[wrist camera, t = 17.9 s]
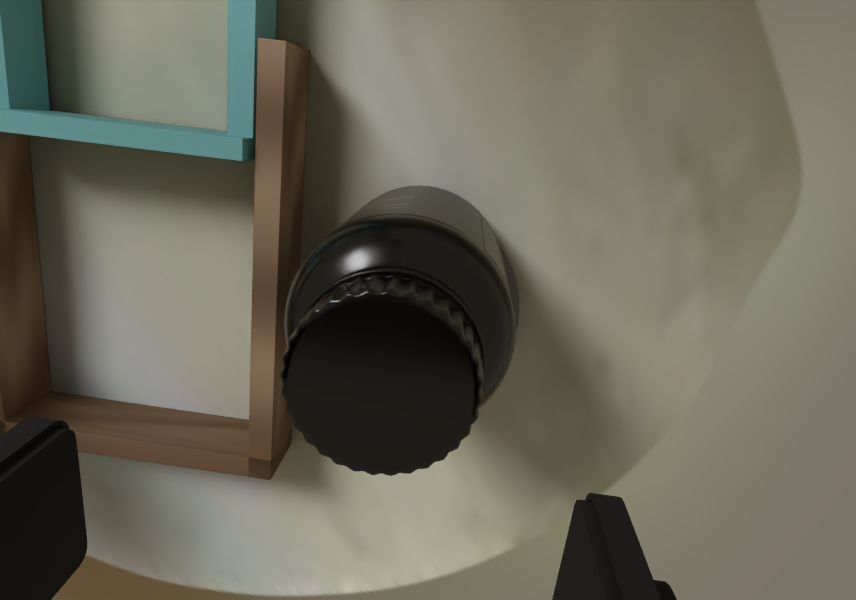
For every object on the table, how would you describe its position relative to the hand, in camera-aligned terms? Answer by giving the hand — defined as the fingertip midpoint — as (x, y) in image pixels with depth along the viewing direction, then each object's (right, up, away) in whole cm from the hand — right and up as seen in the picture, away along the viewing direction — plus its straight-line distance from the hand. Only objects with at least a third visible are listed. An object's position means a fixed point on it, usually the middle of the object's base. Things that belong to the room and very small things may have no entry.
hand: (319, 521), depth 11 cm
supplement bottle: (+2, +6, +14) cm, 15 cm away
